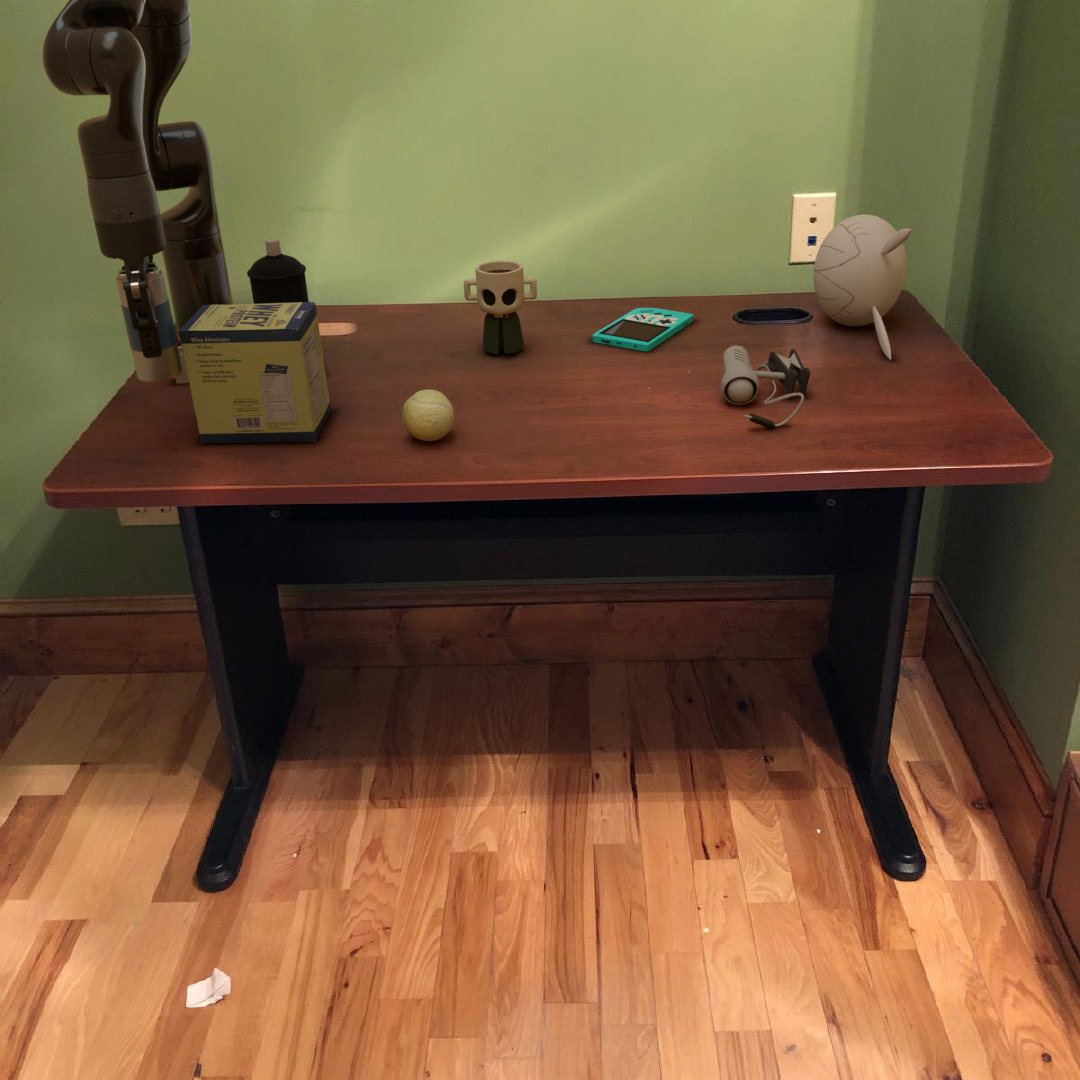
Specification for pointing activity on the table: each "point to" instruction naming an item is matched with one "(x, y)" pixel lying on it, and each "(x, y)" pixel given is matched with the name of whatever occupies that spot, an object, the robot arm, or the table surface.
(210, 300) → the robot arm
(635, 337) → the handheld game console
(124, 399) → the table surface
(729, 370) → the clip-on lamp
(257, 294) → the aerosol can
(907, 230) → the beige egg-shaped piece
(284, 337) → the protein box
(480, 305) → the character mug
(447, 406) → the tennis ball
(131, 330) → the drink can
